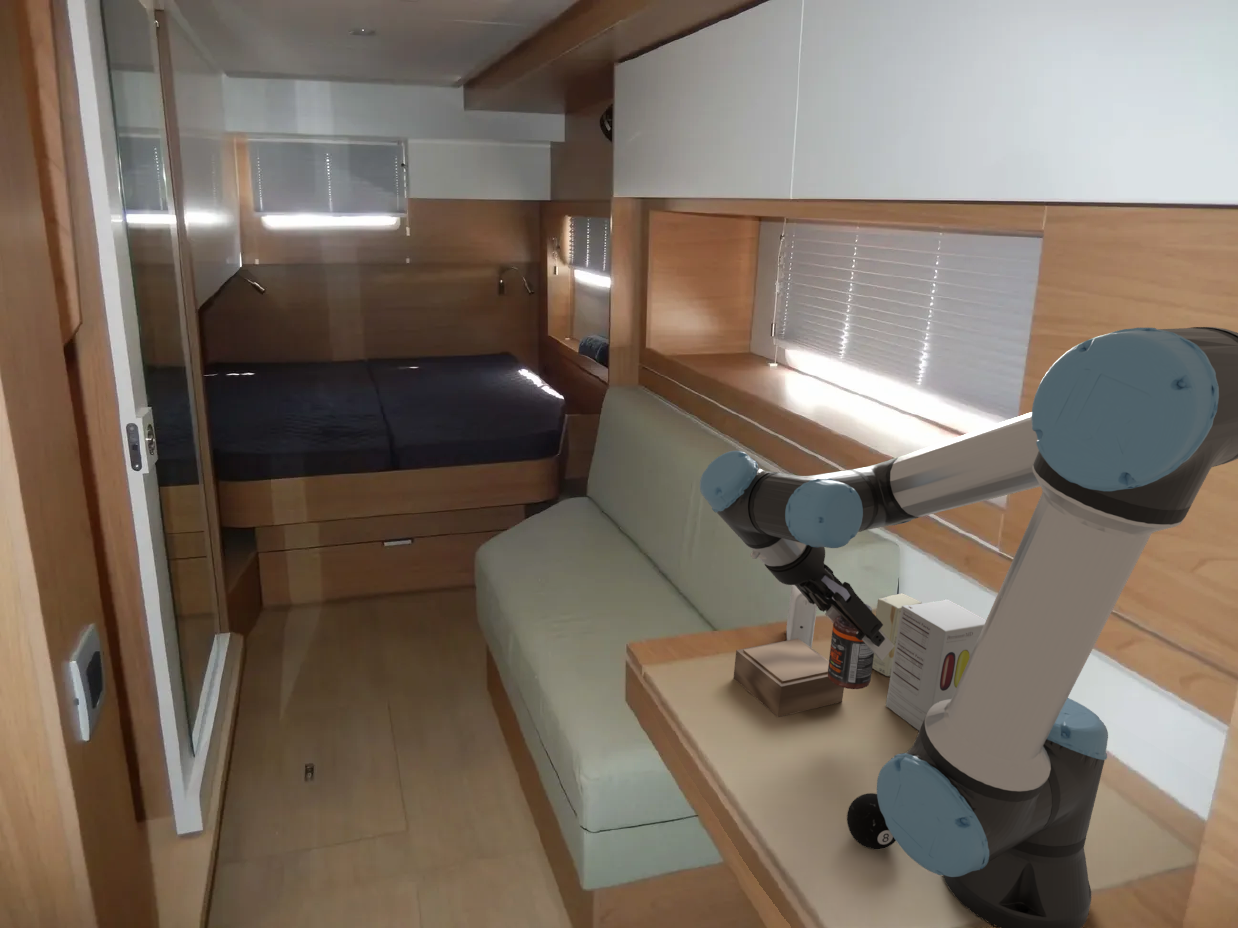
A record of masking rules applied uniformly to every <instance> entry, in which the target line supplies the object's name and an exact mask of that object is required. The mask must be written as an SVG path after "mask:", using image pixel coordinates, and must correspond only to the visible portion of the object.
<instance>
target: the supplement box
mask: <svg viewBox="0 0 1238 928" xmlns="http://www.w3.org/2000/svg"><path fill="white" fill-rule="evenodd" d="M986 620H987V618H986V619H985V618H984V617H982V616H980V615H978V614H976V613H974V612H972V611H971V610H969V609H967V608H965V607H963V606H962V605H959V604H958V603H956V602H953V601H952V600H950V599H948V598H947V599H946V598H945V599H942V600H936V601H930V602H929V601H928V602H922V603H921V604H914V605H904V606H902V607H901V613H900V620H899V626H898V632H897V638H896V645H895V651H894V657H893V664H892V670H891V675H890V676H889V677H890V678H889V683H888V689H887V694H886V695H887V697H886V700H885V706H886V707H887V708H888V709H889V710H891V711H892V712H893V713H895V714H896V715H898V716H899V717H900V718H901V719H903V720H904V721H905V722H907V723H908V724H909V725H910V726H912V727H913V728H914V729H916V730H917V731H919V730H920V728H921V726H922V723H923V721H924V719H925V716H926V714H927V713H928V711H929V709H930V708H931V707H932V706H933V705H934V704H936V703H938V702H940V701H943V700H948V699H952V697H953V695H954V692H955V690H956V688H957V686H958V683H959V681H960V679H961V677H962V674H963V672H964V670H965V667H966V665H967V663H968V661H969V658H970V656H971V654H972V652H973V649H974V647H975V645H976V642H977V640H978V638H979V636H980V633H981V631H982V629H983V626H984V624H985V622H986Z"/></svg>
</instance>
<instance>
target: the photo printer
mask: <svg viewBox="0 0 1238 928" xmlns="http://www.w3.org/2000/svg"><path fill="white" fill-rule="evenodd" d="M789 595H790V597H789V604H788V614H787V619H786V620H787V622H786V641H787V640H793V639H799V640H801V641H802V642H804V643H805V644H806V645H808V646H809V647H811V648H812V647H813V641H814V640H813V639H814V635H815V634H814V633H815V627H816V626H815V624H816V617H817V609H818V607H817V605H816V604H814V605H813V604H812V603H809V602H808V600H807V599H806V598H805V596H804V595H803V594H802V593H801V592H800V591H799V589H798V588H797V587H796V586H795V585H790V594H789ZM812 649H813V648H812Z"/></svg>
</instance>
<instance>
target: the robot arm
mask: <svg viewBox="0 0 1238 928" xmlns="http://www.w3.org/2000/svg"><path fill="white" fill-rule="evenodd" d="M1237 460H1238V332H1236V331H1234V330H1231V329H1227V328H1221V327H1216V326H1193V327H1187V328H1186V327H1183V328H1160V329H1159V328H1157V327H1156V328H1155V327H1133V328H1124V329H1119V330H1115V331H1112V332H1109V333H1106V334H1103V335H1102V334H1101V335H1099V336H1095V337H1093V338H1090V339H1087V340H1085V341H1082V342H1081V343H1078V344H1077V345H1075V346H1073V347H1072V348H1070V349H1069V350H1067V351H1066V352H1065V353H1064V354H1063V355H1061V356H1060V357H1059V358H1058V359H1057V360H1056V361H1055V362H1054V363H1053V364H1051V366H1050V367H1049V369H1048V370H1047V371H1046V373H1045V374H1044V376H1043V377H1042V379H1041V381H1040V383H1039V384H1038V387H1037V389H1036V392H1035V394H1034V397H1033V402H1032V408H1031V412H1028V413H1025V414H1023V415H1020V416H1017V417H1013V418H1010V419H1007V420H1005V421H1001V422H998V423H995V424H993V425H990V426H987V427H983V428H980V429H977V430H974V431H971V432H969V433H965V434H962V435H959V436H957V437H954V438H950V439H948V440H944V441H941V442H939V443H936V444H934V445H930V446H926V447H925V448H921V449H918V450H915V451H912V452H910V453H907V454H904V455H900V456H898V457H894V458H890V459H888V460H885V461H882V462H879V463H877V464H872V465H868V466H865V467H857V468H853V469H844V470H840V471H832V472H826V473H819V474H812V475H795V474H787V473H786V474H785V473H780V472H776V471H769V470H764V469H761V468H760V466H759V464H758V462H757V461H756V460H754V459H753V458H752V457H751V456H750V455H748V454H747V453H746V452H744V451H742V450H729V451H727V452H724V453H722V454H721V455H718V457H716V458H715V459H713V460H712V461H711V462H710V463H709V464H708V465H707V468H706V469H705V470H704V471H703V472H702V474H701V476H700V480H699V490H700V493H701V496H703V498H704V499H705V501H707V503H708V504H709V505H710V506H711V510H712V511H713V512H714V513H716V514H717V515H718V516H719V517H720V518H721V519H722V520H723V521H724V522H725V523H726V525H727V526H728V527H729V528H730V529H731V531H733V532H734V533H735V534H736V535H737V536H738V537H739V539H741V541H743V543H744V544H745V545H746V546H747V548H749V549H750V550H752V551H751V553H750V557H751V558H752V559H753V560H757V559H759V560H760V562H761V563H763V564H764V566H765V567H766V569H767V570H768V571H769V572H770V573H771V574H772V575H773V576H774V577H775V579H777V581H779V583H782V584H784V585H786V586H787V585H788V586H791V585H795V586H796V587H797V588H798V589H799V591H800V592H801V593H802V594H803V595H804V596H805V598H806V599H807V600H808V602H809V603H812V604H813V605H814V604H816V605H817V609H818V610H819V611H820V612H823V613H825V614H824V615H825V616H826V617H827V618H828V619H829V620H830V622H831V623H832V624H833V623H834V620H835V619H836V618H837V617H838V616H840V615H842V616H843V617H844V618H845V619H846V620H847V621H848V622H849V623H850V624H851V625H852V626H853V627H854V628H855V629H856V630H857V632H856V634H857V635H856V636H855V637H856V638H857V639H859V640H860V641H861V640H863V641H864V643H865V644H866V645H867V646H868V647H869V648H870V649H871V651H872V652H873V653H874V654H875V655H876V656H877V657H878V659H880V660H882V661H883V659H884V658H885V657H886V656H887V654H888V653H889V652H890V651H891V650H892V648H893V647H894V645H893V644H892V642H891V641H890V640H889V639H888V638H887V637H886V635H885V634H884V633H883V632H882V631H881V629H880V628H881V627H882V626H883V624H882V622H881V621H879V619H878V618H877V617H876V614H874V612H873V611H872V612H871V610H870V609H869V608H868V607H867V606H866V605H865V604H866V603H865V602H864V601H863V600H862V599H861V598H860V597H859V596H858V594H857V593H856V592H855V590H854V589H853V587H852V586H851V584H850V583H849V582H847V581H844V582H842V581H840V579H838V577H836V576H835V575H834V571H833V570H832V569H831V568H830V567H829V566H828V565H827V564H825V559H826V548H828V549H839V548H843V547H845V546H846V545H848V544H849V542H850V541H851V540H852V539H853V538H855V537H856V536H857V535H858V533H861V532H864V531H868V530H873V529H879V528H883V527H890V526H897V525H901V524H907V523H908V522H911V521H913V520H915V519H918V518H921V517H925V516H930V515H933V514H938V513H940V512H944V511H949V510H953V509H956V508H957V509H958V508H960V507H964V506H968V505H973V504H977V503H980V502H985V501H988V500H993V499H996V498H1001V497H1003V496H1004V497H1005V496H1009V495H1012V494H1013V495H1014V494H1015V493H1016V494H1017V493H1019V492H1020V493H1021V492H1023V491H1024V492H1025V491H1028V490H1032V489H1036V488H1039V487H1040V488H1041V491H1042V492H1041V494H1040V498H1039V500H1038V502H1037V504H1036V506H1035V507H1034V511H1033V513H1032V515H1031V518H1030V519H1029V522H1028V524H1027V527H1026V529H1025V531H1024V533H1023V535H1022V538H1021V540H1020V542H1019V545H1018V547H1017V549H1016V551H1015V553H1014V556H1013V558H1012V561H1011V563H1010V566H1009V567H1008V570H1007V572H1006V575H1005V577H1004V579H1003V581H1002V583H1001V586H1000V587H999V588H1000V589H999V591H998V592H997V594H996V597H995V599H994V601H993V604H992V606H991V609H990V610H989V614H988V615H987V618H986V622H985V624H984V626H983V629H982V631H981V633H980V636H979V638H978V640H977V642H976V645H975V647H974V649H973V652H972V654H971V656H970V658H969V661H968V663H967V665H966V667H965V670H964V672H963V674H962V677H961V679H960V681H959V683H958V686H957V688H956V690H955V692H954V695H953V697H952V699H948V700H943V701H940V702H938V703H936V704H934V705H933V706H932V707H931V708H930V709H929V711H928V713H927V714H926V716H925V719H924V721H923V723H922V726H921V728H920V730H918V733H917V735H916V738H915V740H914V742H913V745H912V746H911V747H910V748H909V750H907V752H905V753H904V752H903V753H897V754H895V755H894V756H893V757H891V758H890V760H888V761H887V762H886V763H885V764H884V765H883V766H882V767H881V769H880V771H879V774H878V776H877V780H876V794H877V798H878V803H879V807H880V811H881V813H882V814H883V816H884V818H885V821H886V825H887V827H888V829H889V831H890V832H891V834H892V836H893V837H894V839H895V840H896V841H895V842H896V843H897V844H898V846H899V847H900V848H901V849H902V850H903V851H904V853H906V854H907V856H909V858H911V859H912V860H913V861H914V862H915V863H916V864H917V865H919V866H920V867H922V868H924V869H925V870H927V871H928V872H931V873H932V874H935V875H938V876H943V880H944V882H945V885H946V886H947V888H948V889H949V891H950V892H951V893H952V895H953V896H954V897H955V898H956V899H957V900H958V901H959V902H960V903H961V904H962V905H963V906H964V907H966V908H967V909H968V910H970V912H971V913H972V914H975V915H976V916H977V917H980V918H981V919H982V920H984V921H985V922H987V923H989V924H991V925H993V926H995V927H998V928H1084V925H1085V924H1086V922H1087V920H1088V916H1089V911H1090V908H1091V904H1092V890H1091V885H1090V881H1089V874H1088V867H1087V860H1086V859H1087V858H1086V852H1085V845H1086V839H1087V835H1088V832H1089V827H1090V823H1091V818H1092V815H1093V811H1094V805H1095V802H1096V798H1097V793H1098V790H1099V785H1100V781H1101V779H1102V778H1101V777H1102V773H1103V770H1104V769H1103V768H1104V764H1105V761H1106V760H1107V759H1108V754H1107V747H1108V741H1109V732H1108V727H1107V726H1106V725H1105V723H1104V722H1103V721H1102V720H1101V719H1100V717H1099V716H1098V715H1097V714H1096V713H1095V712H1094V711H1093V710H1091V709H1089V708H1088V707H1087V706H1085V705H1083V704H1081V703H1080V702H1078V701H1075V700H1073V699H1071V698H1070V697H1069V695H1070V694H1071V692H1072V690H1073V688H1074V686H1075V684H1076V682H1077V680H1078V679H1079V676H1080V675H1081V672H1082V671H1083V669H1084V666H1085V664H1086V663H1087V660H1088V659H1089V657H1090V655H1091V653H1092V651H1093V649H1094V647H1095V645H1096V643H1097V641H1098V639H1099V637H1100V635H1101V633H1102V631H1103V630H1104V628H1105V626H1106V623H1108V622H1107V621H1108V620H1109V618H1110V616H1111V614H1112V612H1113V610H1114V608H1115V606H1116V604H1117V602H1118V600H1119V598H1120V596H1121V594H1122V592H1123V591H1124V588H1125V586H1126V585H1127V582H1128V580H1129V579H1130V577H1131V574H1132V573H1133V570H1134V569H1135V568H1136V567H1135V566H1136V565H1137V563H1138V560H1139V559H1140V557H1141V556H1142V553H1143V552H1144V549H1145V548H1146V546H1147V544H1148V541H1149V539H1150V537H1151V536H1152V534H1154V533H1156V532H1160V531H1164V530H1168V529H1171V528H1175V527H1178V526H1180V525H1181V524H1182V523H1183V521H1184V519H1185V518H1186V517H1187V515H1188V513H1189V511H1190V509H1191V507H1192V505H1193V503H1194V501H1195V499H1196V497H1197V495H1198V493H1199V491H1200V489H1201V488H1202V486H1203V484H1204V482H1205V480H1206V478H1207V476H1208V475H1209V472H1210V471H1211V469H1212V468H1214V467H1217V466H1221V465H1225V464H1228V463H1231V462H1233V461H1237Z"/></svg>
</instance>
